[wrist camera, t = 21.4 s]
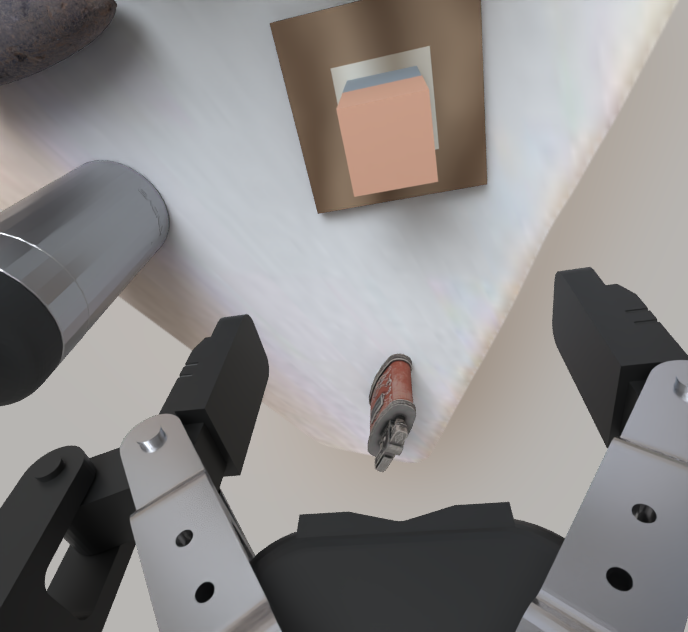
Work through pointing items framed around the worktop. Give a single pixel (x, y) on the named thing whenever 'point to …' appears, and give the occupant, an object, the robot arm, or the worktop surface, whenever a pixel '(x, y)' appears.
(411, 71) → the slate block
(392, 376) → the lighter
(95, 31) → the perforated stone tool
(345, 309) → the worktop surface
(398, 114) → the terracotta block
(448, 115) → the walnut board
